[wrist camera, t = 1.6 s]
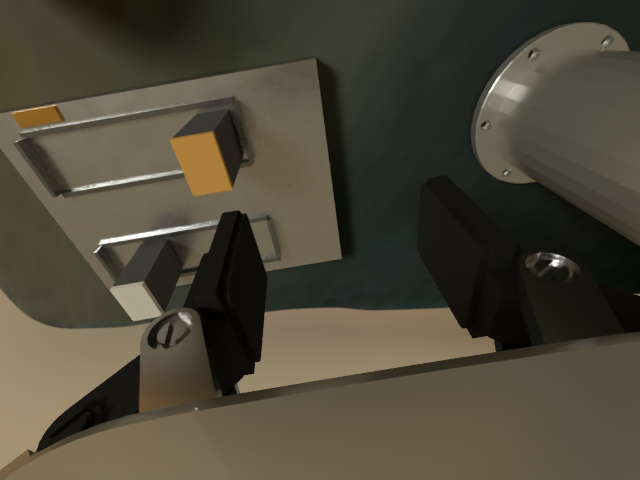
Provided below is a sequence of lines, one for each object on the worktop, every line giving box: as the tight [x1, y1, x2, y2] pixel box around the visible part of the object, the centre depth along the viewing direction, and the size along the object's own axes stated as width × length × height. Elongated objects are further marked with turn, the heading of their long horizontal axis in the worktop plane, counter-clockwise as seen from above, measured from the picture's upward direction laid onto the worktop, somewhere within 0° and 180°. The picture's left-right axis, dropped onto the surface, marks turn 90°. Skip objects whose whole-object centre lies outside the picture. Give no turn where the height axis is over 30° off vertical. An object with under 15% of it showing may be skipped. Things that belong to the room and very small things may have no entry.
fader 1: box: [110, 240, 183, 321], centre depth 27 cm, size 2×4×6 cm
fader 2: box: [170, 109, 243, 196], centre depth 21 cm, size 2×4×6 cm
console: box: [0, 56, 342, 296], centre depth 27 cm, size 24×18×3 cm
